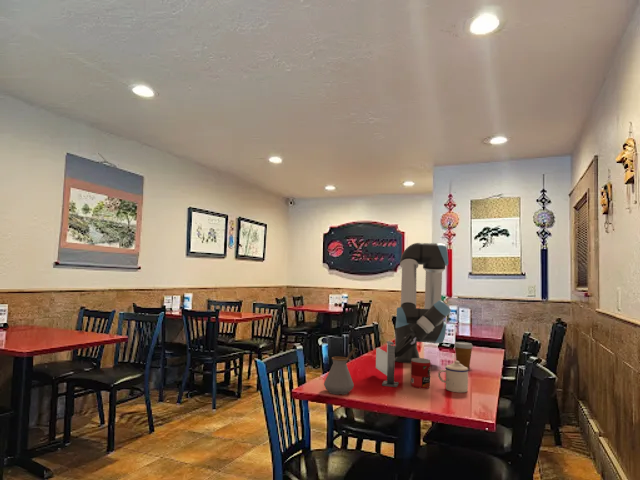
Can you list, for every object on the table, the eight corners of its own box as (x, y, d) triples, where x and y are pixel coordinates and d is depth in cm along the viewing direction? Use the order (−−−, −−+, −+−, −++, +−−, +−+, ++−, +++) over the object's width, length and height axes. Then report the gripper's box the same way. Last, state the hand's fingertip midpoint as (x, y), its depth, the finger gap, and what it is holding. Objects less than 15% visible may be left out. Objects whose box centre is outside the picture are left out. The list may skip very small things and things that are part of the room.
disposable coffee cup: (449, 365, 234) (450, 342, 235) (463, 364, 238) (463, 341, 239) (462, 368, 226) (462, 344, 227) (476, 367, 230) (477, 344, 231)
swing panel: (392, 377, 185) (393, 342, 186) (389, 377, 184) (390, 342, 185) (378, 367, 204) (379, 336, 205) (375, 367, 204) (376, 336, 205)
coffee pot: (345, 397, 162) (347, 356, 163) (318, 392, 167) (320, 352, 169) (367, 386, 181) (369, 349, 182) (342, 382, 186) (343, 345, 187)
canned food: (425, 389, 179) (426, 362, 179) (407, 386, 183) (408, 359, 184) (433, 386, 185) (433, 359, 186) (415, 383, 189) (415, 357, 190)
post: (384, 382, 188) (385, 344, 190) (398, 384, 187) (399, 345, 188) (382, 385, 183) (383, 346, 184) (396, 387, 181) (397, 347, 182)
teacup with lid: (470, 389, 182) (470, 360, 183) (466, 394, 174) (466, 364, 175) (440, 385, 188) (441, 357, 189) (435, 389, 180) (436, 360, 181)
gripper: (431, 336, 195) (393, 374, 193) (423, 332, 208) (387, 367, 206) (420, 323, 195) (381, 361, 193) (412, 320, 208) (376, 355, 206)
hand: (384, 364), depth 199 cm, fingers closed
